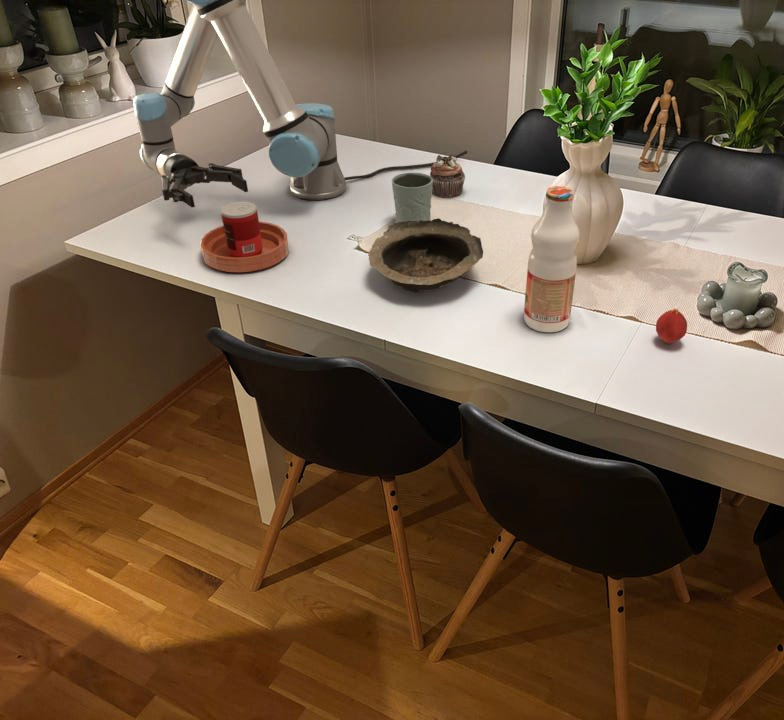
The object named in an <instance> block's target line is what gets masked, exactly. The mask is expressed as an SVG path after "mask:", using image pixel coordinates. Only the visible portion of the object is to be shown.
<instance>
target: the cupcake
mask: <svg viewBox="0 0 784 720" xmlns="http://www.w3.org/2000/svg"><path fill="white" fill-rule="evenodd" d="M455 156H456V155H453V154H450V155H448V156H443V155H440V154H438V155H437V156H436V158H435V160H436V161H434V162H435V163H434V164H433V165H432V166H430V172H429V176H430V177H432V179H433V185H432V192H433V194H434V195H435V196H437V197H440V198H445V199H446V198H447V199H449V198H450V199H451V198H456V197H459V196H460V195H462V194H463V189H464V182H465V180H466V174H465V172H464V171H463V168H462V165H461V163H460V164H459V163H458V162H456V161H457V158H456V157H455Z"/></svg>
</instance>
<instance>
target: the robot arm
mask: <svg viewBox="0 0 784 720" xmlns="http://www.w3.org/2000/svg"><path fill="white" fill-rule="evenodd" d="M185 1H186V2H189V3H190V4H192V5H191V8H190V11H189V13H188V17H187V20H186V22H185V25H184V28H183V31H182V34H181V36H180V39H179V42H178V45H177V48H176V51H175V53H174V56H173V59H172V61H171V64H170V68H169V70H168V73H167V76H166V79H165V82H164V85H163V88H162V90H161V92H160V93H158V92H145V93H142V94H139V95H136V96H135V97H134V98H133V101H132V103H133V108H134V116H135V119H136V123H137V126H138V130H139V134H140V138H141V145H140V149H139V156H140V157H139V158H140V159H141V161H142V163H143V164H144V165H146V167H148V169H150V170H151V171H154V172H155V173H157V174H158V175H160V180H161V187H162V188H161V193H162V196H163V201H166V202H167V201H170V199H172V200H173V201H172V202H173V203H180V202H182V203H184V204H185V205H187V206H188V207H190V208H191V209H193V208H195V206H196V205H195V201H194V195H193V194H191V193H189V192H188V191H187V189H188V188H190V187H192V186H193V185H195V184H200V183H201V184H210V183H211V182H215V183H231V185H232V186H233V187H235V188H237V189H238V190H240V191H242V192H244V193H248V192H249V190H248V189H249V188H248V183H247V180H246V179H244V176H243V171H242V168H238V167H237V168H236V167H232V166H224V165H219V164H215V163H212V162H210V163H208V166H207V167H204V166H199V164H198V163H197V162H196V161H195V160H194V159H192V158H191V157H190V156H187V155H185V154H184V153H183V152H181V151H179V150H177V149H176V145H175V142H174V136H173V131H172V127H173V126H174V125H175V124H176V123H178V122H179V121H180V120H182V119H183V118H185V117H187V116H188V115H189V114H190V113H191V111H193V109H194V107H195V104H196V102H195V95H196V91H197V89H198V86H199V84H200V81H201V79H202V77H203V74H204V72H205V71H204V70H205V69H206V66H207V63H208V60H209V58H210V55H211V53H212V51H213V48H214V46H215V43H216V40H217V38H219V39H220V41H221V43H222V45H223V47H224V49H225V50H226V52H227V54H228V56H229V58H230V60H231V61H232V64H233V66H234V67H235V69H236V71H237V73H238V75H239V76H240V78H241V80H242V82H243V84H244V86H245V88H246V90H247V91H248V93H249V95H250V97H251V99H252V100H253V103H254V105H255V107H256V108H257V110H258V112H259V114H260V116H261V118H262V119H263V121H264V122H263V127H262V133H263V134H264V136H265V138H266V140H267V142H268V144H269V146H268V157H269V161H270V162H271V164H272V166H273V167H274V168H275V169H276V170H277V171H278V172H279V173H281V174H282V175H285V176H288V177H289V180H290V181H289V187H290V189H289V190H290V193H291V194H292V195H293V196H294V197H297V198H299V199H302V200H308V201H323V200H330V199H333V198H336V197H339V196H341V195H343V194H344V193H345V192H346V191H347V182H346V181H350V180H351V181H352V180H359V179H367V178H371V177H373V176H376V175H377V174H380V173H382V172H386V171H393V170H409V169H417V168H427V167H431V166H432V165H433V164H434V163H435V162H436V161H434V162H428V163H421V164H410V165H397V166H388V167H383V168H380V169H377V170H374V171H373V172H370V173H367V174H363V175H362V174H361V175H353V176H346V177H345V175H344V174H343V171H342V169H341V167H340V164H339V161H338V148H337V135H336V123H335V120H336V117H335V113H334V109H333V108H332V106H330V105H327V104H323V103H312V102H311V103H310V102H309V103H297V104H296V103H295V101H294V99H293V97H292V95H291V93H290V91H289V89H288V87H287V85H286V83H285V81H284V79H283V77H282V76H281V73H280V71H279V69H278V67H277V66H276V64H275V61H274V59H273V57H272V56H271V54H270V51H269V49H268V48H267V46H266V44H265V41H264V40H263V38H262V36H261V34H260V32H259V30H258V28H257V26H256V24H255V22H254V20H253V18H252V16H251V14H250V12H249V10H248V8H247V7H246V2H247V0H185ZM466 154H468V151H467V150H464V151H462V152H460V153H458V154H456V155H454V156H455V157H456V159H459V158H460V157H463V156H464V155H466Z"/></svg>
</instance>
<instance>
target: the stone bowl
mask: <svg viewBox="0 0 784 720" xmlns="http://www.w3.org/2000/svg"><path fill="white" fill-rule="evenodd" d="M483 255H484V249H483V245H482V240H481V237H479V236H476V235H473V234H472V233H471V230H470V229H469V227H466V226H463V225H462V226H461V225H460V224H459V223H454V222H453V221H449V222H448V221H445V220H442V219H441V218H439V217H438V218H432V220H431V219H430V220H428V221H422V220H420V221H419V222H417V221H407V222H405V221H403V222H398V223H396V222H395V223H393V224H390V225H388V226H387V229H386V230H385V231H383V234H382V235H381V236H380V237H377V238H375V240H374V241H373V243H372V245H371V248H370V249H369V251H368V255H367V257H368V263H369V265H370V267H372V268H375V270H377V272H379V273H380V274H382V275H383V276H384V277H385V278H388V279H389V280H390V281H391V282H392V283H393V284H394V285H395V286H396V287H399V288H401V289H403V290H405V291H408V292H411V293H419V292H430V291H435V290H438V289H440V288H443V287H445V286H447V285H449V284H451V283H453V282H455V281H456V280H458V279H459V278H460V277H462V275H463V274H464V273H466V272H468V271H470V270H471V269H472V268H473V267H474V266H475V265H476V264H477V263H479V262H480V260H482V259H483V257H484V256H483Z"/></svg>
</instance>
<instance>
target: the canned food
mask: <svg viewBox="0 0 784 720" xmlns="http://www.w3.org/2000/svg"><path fill="white" fill-rule="evenodd" d="M220 213H221V220H222V226H224V231H225V237H226V242H227V248H228V252H229V254H230V256H231V257H250V256H255V255H259V254H260V253H261V252H262V240H261V234H260V227H259V220H260V219H259V214H258V208H257V205H256V204H255V203H253V202H250V201H235V202H230V203H227V204H226V205H224V206H222V207H221V209H220Z"/></svg>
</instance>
